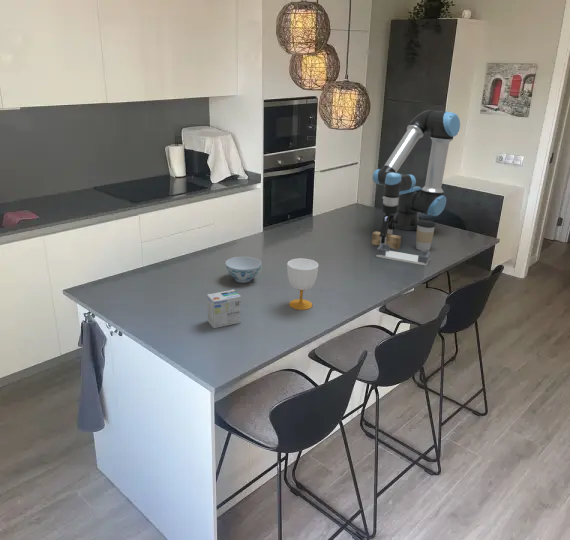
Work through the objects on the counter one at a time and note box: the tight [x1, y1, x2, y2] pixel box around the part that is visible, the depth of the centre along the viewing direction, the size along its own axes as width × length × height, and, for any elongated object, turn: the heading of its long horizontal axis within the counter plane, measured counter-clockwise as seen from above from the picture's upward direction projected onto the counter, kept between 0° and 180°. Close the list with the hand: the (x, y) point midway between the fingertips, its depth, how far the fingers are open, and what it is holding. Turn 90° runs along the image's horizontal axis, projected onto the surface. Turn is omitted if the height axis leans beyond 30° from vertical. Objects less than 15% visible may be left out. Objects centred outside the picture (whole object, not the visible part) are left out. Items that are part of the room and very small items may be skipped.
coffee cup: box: [415, 217, 436, 252], centre depth 271 cm, size 9×9×15 cm
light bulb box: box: [206, 289, 242, 329], centre depth 191 cm, size 11×7×11 cm, turn 118°
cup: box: [286, 258, 319, 311], centre depth 205 cm, size 12×12×17 cm
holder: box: [375, 244, 432, 266], centre depth 259 cm, size 9×24×4 cm, turn 66°
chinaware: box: [225, 256, 262, 284], centre depth 227 cm, size 15×15×8 cm
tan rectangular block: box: [371, 230, 402, 250], centre depth 275 cm, size 14×4×6 cm, turn 60°
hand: (385, 245), depth 276 cm, fingers open, 12 cm apart
